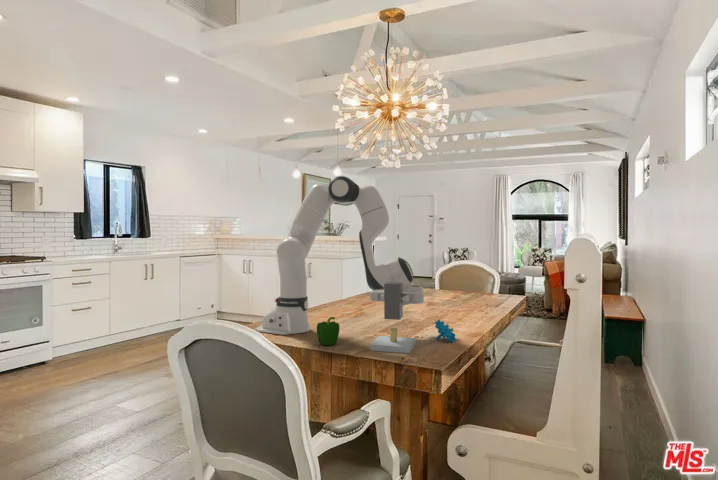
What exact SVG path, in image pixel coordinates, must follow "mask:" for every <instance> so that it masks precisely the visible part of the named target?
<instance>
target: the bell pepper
mask: <svg viewBox="0 0 718 480" xmlns="http://www.w3.org/2000/svg"><path fill="white" fill-rule="evenodd" d="M335 319H336V317H334V316H330V317H328V318H327V320H326V321H322V322H318V323H317V325H316V334H317V340H318V342H319V344H321V345H323V346H332V345H335V344H337V342H338V339H339V335H340V323H338V322H336V321H333V320H335ZM331 320H332V321H331Z"/></svg>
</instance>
